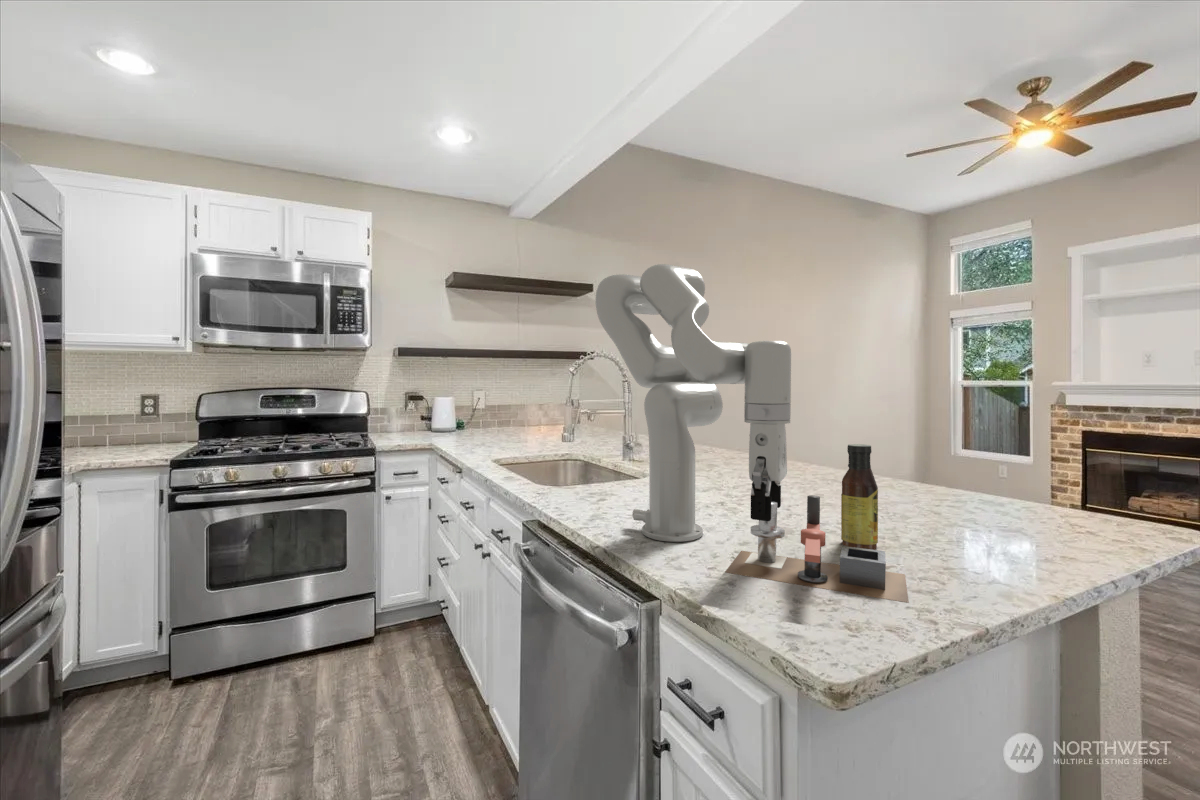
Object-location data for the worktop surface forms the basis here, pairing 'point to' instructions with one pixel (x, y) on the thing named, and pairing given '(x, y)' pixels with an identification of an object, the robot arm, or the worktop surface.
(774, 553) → the peg
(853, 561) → the block
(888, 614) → the worktop surface
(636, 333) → the robot arm
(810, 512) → the lever
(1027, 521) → the worktop surface
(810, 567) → the pivot post
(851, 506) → the sauce bottle
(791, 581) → the board
